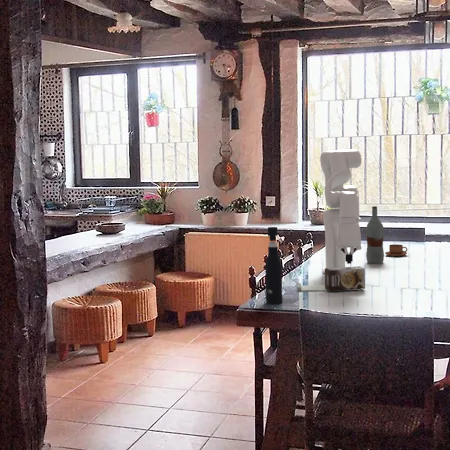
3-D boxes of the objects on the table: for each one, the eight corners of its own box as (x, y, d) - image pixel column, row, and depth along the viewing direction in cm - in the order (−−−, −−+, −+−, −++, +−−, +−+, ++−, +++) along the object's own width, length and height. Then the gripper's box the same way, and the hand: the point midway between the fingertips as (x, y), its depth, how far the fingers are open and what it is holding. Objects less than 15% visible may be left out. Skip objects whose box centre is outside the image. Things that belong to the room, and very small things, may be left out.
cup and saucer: (403, 254, 400) (403, 243, 399) (409, 257, 388) (409, 246, 387) (382, 254, 399) (382, 244, 399) (388, 257, 388) (388, 246, 387)
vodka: (365, 263, 367) (365, 207, 364) (366, 261, 376) (365, 206, 373) (384, 264, 365) (383, 207, 362) (384, 261, 374) (383, 205, 371)
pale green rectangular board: (298, 287, 308) (297, 283, 308) (357, 286, 306) (357, 282, 305) (298, 291, 298) (298, 287, 298) (359, 290, 296) (359, 286, 295)
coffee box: (365, 289, 296) (329, 292, 293) (360, 286, 302) (324, 289, 299) (365, 267, 295) (328, 270, 292) (359, 265, 301) (323, 268, 298)
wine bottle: (281, 300, 280) (279, 226, 277) (283, 303, 274) (281, 228, 271) (265, 301, 280) (263, 226, 277) (266, 304, 274) (265, 228, 271)
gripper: (365, 219, 301) (365, 261, 303) (330, 220, 302) (331, 262, 304) (367, 221, 294) (367, 264, 295) (331, 222, 295) (332, 264, 297)
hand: (349, 263), depth 300 cm, fingers closed
